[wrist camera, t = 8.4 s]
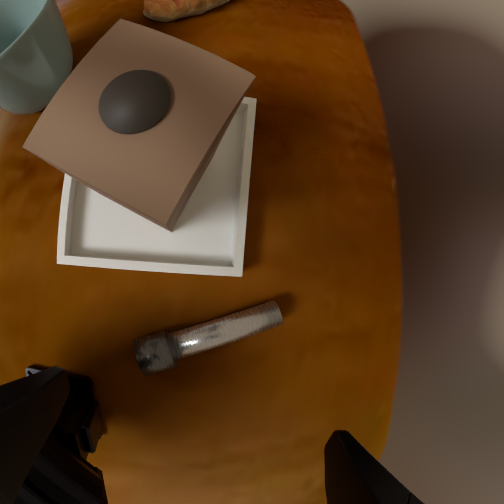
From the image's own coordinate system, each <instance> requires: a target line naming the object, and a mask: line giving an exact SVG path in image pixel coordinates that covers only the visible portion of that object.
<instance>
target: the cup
mask: <svg viewBox="0 0 504 504" xmlns="http://www.w3.org/2000/svg"><path fill="white" fill-rule="evenodd" d="M72 68H73V51H72V46H71V43H70V39H69V35H68V32H67V29H66V27H65V24H64V21H63V19H62V16H61V14H60V11H59V9H58V6H57V3H56V1H55V0H0V108H1V109H3V110H5V111H7V112H11V113H14V114H20V115H28V114H32V113H36V112H39V111H41V110H43V109H44V108H46V107H47V105H48V104H49V103H50V101H51V100H52V98H53V97H54V95H55V94H56V92H57V91H58V90H59V88H60V87H61V86H62V84H63V83H64V82H65V80H66V79H67V78H68V76H69V75H70V74H71V72H72Z"/></svg>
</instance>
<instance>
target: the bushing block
mask: <svg viewBox="0 0 504 504" xmlns="http://www.w3.org/2000/svg"><path fill="white" fill-rule="evenodd" d="M255 77H256V76H255V75H253V74H252V73H250V72H248V71H246V70H244V69H242V68H240V67H238V66H236V65H234V64H232V63H231V62H229V61H227V60H224V59H222V58H220V57H218V56H216V55H214V54H212V53H210V52H208V51H205V50H203V49H201V48H199V47H197V46H194V45H192V44H190V43H187V42H185V41H182V40H180V39H177V38H175V37H172V36H170V35H167V34H165V33H162V32H159V31H157V30H154V29H151V28H148V27H145V26H142V25H139V24H136V23H133V22H130V21H127V20H123V19H120V20H119V21H118V22H117V23H115V24H114V25H113V26H112V27H111V28H110V29H109V30H108V31H107V33H106V34H105V35H104V36H103V37H102V38H101V39H100V40H99V41H98V42H97V43H96V44H95V45H94V46H93V47H92V49H91V50H90V51H89V52H88V53H87V54H86V55H85V57H84V58H83V59H82V60H81V61H80V63H79V64H78V65H77V66H76V67H75V69H74V70H73V71H72V72H71V74H70V75H69V76H68V78H67V79H66V80H65V82H64V83H63V84H62V86H61V87H60V88H59V90H58V91H57V92H56V94H55V95H54V97H53V98H52V100H51V101H50V103H49V104H48V105H47V107H46V108H45V110H44V112H43V113H42V115H41V116H40V118H39V119H38V121H37V123H36V124H35V126H34V128H33V129H32V131H31V133H30V134H29V136H28V138H27V140H26V141H25V143H24V145H23V148H25V149H26V150H28V151H30V152H31V153H33V154H34V155H36V156H38V157H39V158H41V159H43V160H44V161H46V162H47V163H49V164H51V165H52V166H54V167H56V168H57V169H59V170H61V171H62V172H64V173H66V174H67V175H69V176H71V177H72V178H74V179H76V180H77V181H79V182H81V183H82V184H84V185H86V186H87V187H89V188H91V189H92V190H94V191H96V192H97V193H99V194H101V195H103V196H104V197H106V198H108V199H110V200H112V201H114V202H115V203H117V204H119V205H121V206H123V207H125V208H127V209H129V210H130V211H132V212H134V213H136V214H138V215H140V216H142V217H143V218H145V219H147V220H149V221H151V222H153V223H155V224H157V225H159V226H160V227H162V228H164V229H166V230H168V231H170V232H172V231H173V229H174V227H175V225H176V223H177V221H178V219H179V217H180V216H181V214H182V212H183V210H184V208H185V206H186V204H187V203H188V201H189V199H190V197H191V195H192V193H193V192H194V190H195V188H196V186H197V184H198V183H199V181H200V179H201V177H202V176H203V174H204V172H205V170H206V169H207V167H208V165H209V163H210V162H211V160H212V158H213V156H214V154H215V152H216V150H217V148H218V146H219V144H220V142H221V140H222V138H223V136H224V134H225V132H226V130H227V128H228V126H229V125H230V123H231V121H232V119H233V117H234V115H235V113H236V111H237V109H238V108H239V106H240V104H241V102H242V100H243V98H244V97H245V95H246V93H247V91H248V89H249V88H250V86H251V84H252V82H253V81H254V79H255Z"/></svg>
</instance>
